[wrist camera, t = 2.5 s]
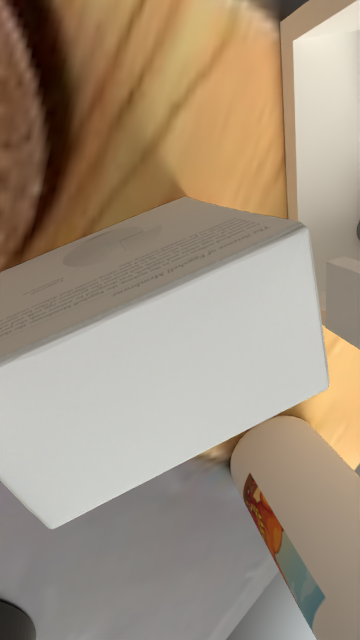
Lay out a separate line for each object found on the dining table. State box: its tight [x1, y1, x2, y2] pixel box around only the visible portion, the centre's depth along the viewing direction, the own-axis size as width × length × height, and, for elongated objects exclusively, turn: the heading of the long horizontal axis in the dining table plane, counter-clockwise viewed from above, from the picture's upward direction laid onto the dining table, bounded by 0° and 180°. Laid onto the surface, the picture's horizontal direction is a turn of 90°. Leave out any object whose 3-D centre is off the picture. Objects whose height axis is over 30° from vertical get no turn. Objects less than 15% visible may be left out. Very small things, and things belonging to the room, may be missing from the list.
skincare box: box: [0, 196, 329, 529], centre depth 14 cm, size 10×6×10 cm, turn 109°
